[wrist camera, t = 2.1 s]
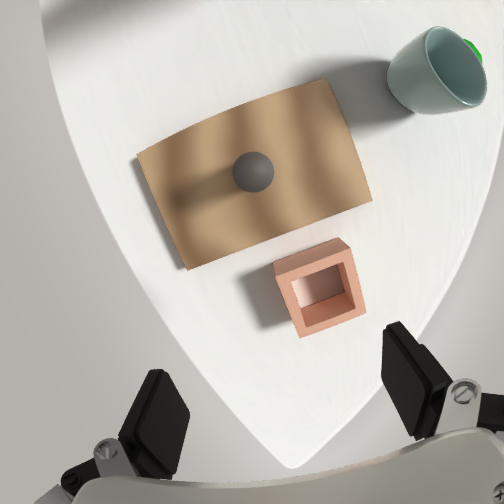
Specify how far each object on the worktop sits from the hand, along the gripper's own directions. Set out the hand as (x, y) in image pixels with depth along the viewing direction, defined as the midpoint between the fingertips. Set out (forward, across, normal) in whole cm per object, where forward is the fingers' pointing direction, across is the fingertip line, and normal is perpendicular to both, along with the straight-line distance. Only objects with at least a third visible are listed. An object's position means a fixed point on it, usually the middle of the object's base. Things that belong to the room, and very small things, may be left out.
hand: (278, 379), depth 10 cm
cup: (+18, -20, -15) cm, 31 cm away
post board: (+18, -1, -8) cm, 20 cm away
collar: (+19, -5, +4) cm, 20 cm away
